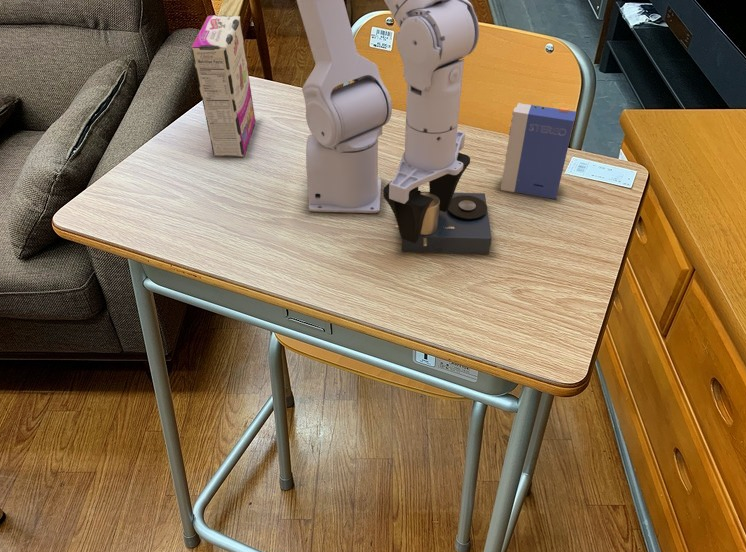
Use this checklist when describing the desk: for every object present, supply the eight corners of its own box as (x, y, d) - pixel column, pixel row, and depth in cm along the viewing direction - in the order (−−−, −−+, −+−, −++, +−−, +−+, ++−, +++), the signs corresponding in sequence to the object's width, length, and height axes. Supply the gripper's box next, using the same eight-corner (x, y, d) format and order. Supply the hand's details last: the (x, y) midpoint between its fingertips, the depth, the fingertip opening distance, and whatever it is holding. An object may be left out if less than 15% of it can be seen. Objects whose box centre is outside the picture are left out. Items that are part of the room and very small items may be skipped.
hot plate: (393, 261, 81) (394, 244, 80) (395, 206, 90) (395, 189, 88) (490, 264, 81) (493, 246, 80) (482, 208, 90) (485, 192, 88)
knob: (411, 219, 83) (412, 190, 80) (436, 220, 83) (439, 190, 80) (412, 235, 81) (413, 205, 78) (438, 235, 81) (440, 205, 78)
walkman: (558, 189, 93) (577, 108, 85) (555, 199, 92) (574, 118, 83) (503, 179, 95) (516, 99, 87) (499, 189, 93) (512, 109, 85)
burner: (447, 220, 83) (447, 216, 83) (445, 197, 87) (446, 193, 87) (488, 222, 83) (489, 217, 83) (485, 198, 87) (485, 194, 87)
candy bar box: (225, 121, 106) (206, 14, 94) (256, 122, 106) (241, 14, 94) (211, 157, 98) (189, 45, 86) (244, 158, 98) (227, 46, 86)
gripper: (432, 160, 66) (424, 265, 76) (493, 104, 75) (479, 205, 85) (372, 141, 69) (372, 245, 79) (438, 89, 78) (431, 189, 87)
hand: (424, 223), depth 82 cm, fingers open, 7 cm apart
